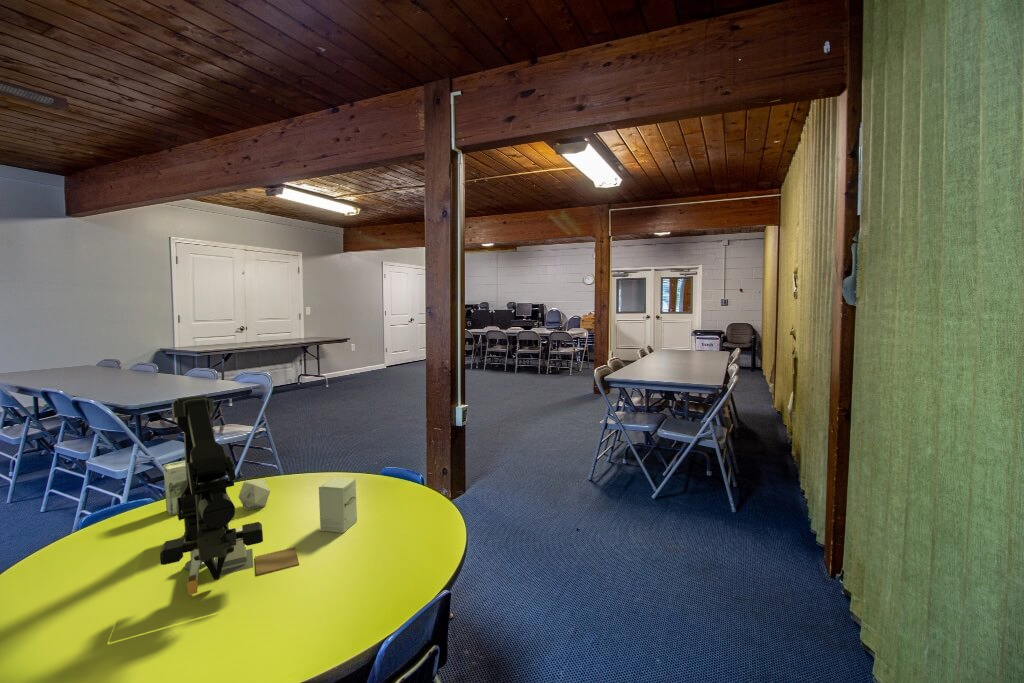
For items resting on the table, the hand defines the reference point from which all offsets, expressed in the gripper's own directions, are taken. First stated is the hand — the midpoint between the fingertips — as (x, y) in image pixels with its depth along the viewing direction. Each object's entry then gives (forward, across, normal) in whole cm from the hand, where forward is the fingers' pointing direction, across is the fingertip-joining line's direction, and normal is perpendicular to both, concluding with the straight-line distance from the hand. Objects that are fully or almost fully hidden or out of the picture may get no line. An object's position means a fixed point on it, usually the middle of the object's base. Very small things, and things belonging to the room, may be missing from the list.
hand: (216, 579), depth 106 cm
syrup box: (+2, -11, +53) cm, 54 cm away
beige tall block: (+2, +3, +10) cm, 10 cm away
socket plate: (+2, +3, +10) cm, 10 cm away
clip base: (+2, -4, +13) cm, 14 cm away
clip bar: (+1, -4, +6) cm, 7 cm away
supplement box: (+2, +29, +17) cm, 33 cm away
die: (+2, +9, +44) cm, 45 cm away
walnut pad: (+2, +12, +5) cm, 13 cm away
